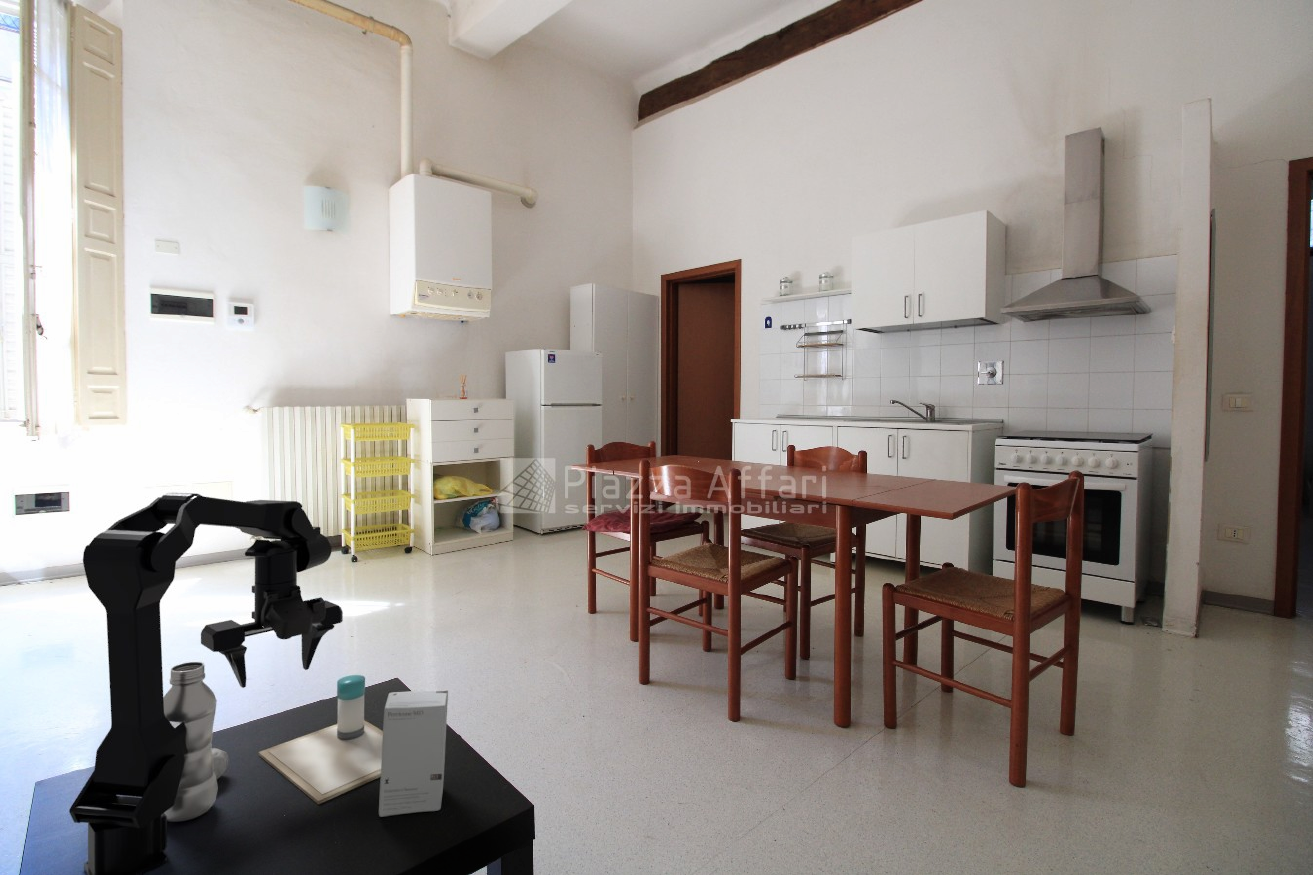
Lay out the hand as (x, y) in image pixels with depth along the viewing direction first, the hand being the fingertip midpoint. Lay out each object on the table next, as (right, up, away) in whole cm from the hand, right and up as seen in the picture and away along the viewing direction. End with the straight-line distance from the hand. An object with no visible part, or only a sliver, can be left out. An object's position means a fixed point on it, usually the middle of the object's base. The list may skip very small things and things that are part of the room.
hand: (275, 677), depth 102 cm
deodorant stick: (+9, -11, +6) cm, 16 cm away
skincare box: (+26, -13, -12) cm, 32 cm away
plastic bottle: (-3, -13, -16) cm, 20 cm away
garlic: (-6, -12, -8) cm, 16 cm away
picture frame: (+10, -12, 0) cm, 16 cm away
